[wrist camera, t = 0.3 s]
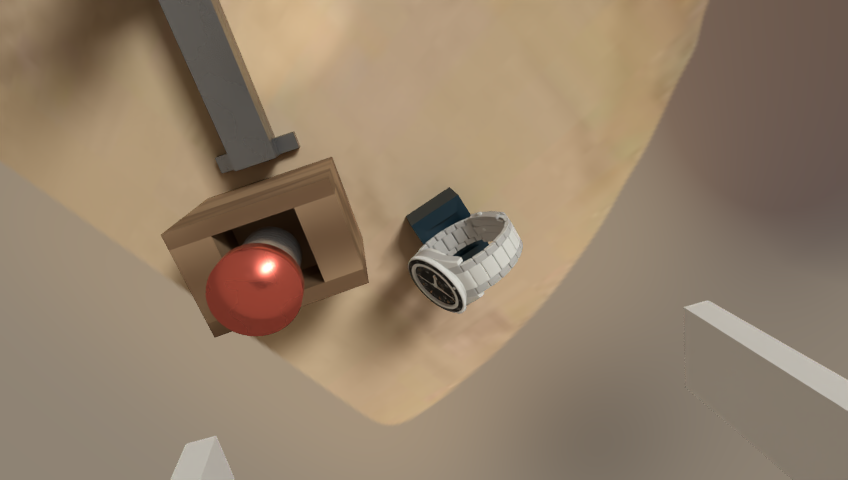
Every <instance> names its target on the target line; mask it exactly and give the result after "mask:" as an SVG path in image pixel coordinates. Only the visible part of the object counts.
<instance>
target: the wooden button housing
mask: <svg viewBox="0 0 848 480" xmlns="http://www.w3.org/2000/svg"><path fill="white" fill-rule="evenodd" d="M264 227H278V228H282V229H284V230H286V231H288V232H290V233H291V234H292V235H293V236H294V237H295V238H296V239H297V240H298V242H299V244H300V246H301V249H302V261H301V265H300V269H301V271H302V274H303V277H304V294H303V299H302V304H301V307H302V306H305V305H308V304H310V303H313V302H316V301H319V300H322V299H324V298H327V297H330V296H333V295H336V294H339V293H341V292H344V291H347V290H350V289H353V288H355V287H358V286H361V285H364V284H367V283H369V281H368V274H367V267H366V260H365V253H364V246H363V239H362V236H361V233H360V230H359V228H358V225H357V222H356V220H355V217H354V214H353V212H352V209H351V206H350V204H349V201H348V198H347V196H346V193H345V190H344V188H343V185H342V182H341V180H340V177H339V174H338V172H337V169H336V166H335V164H334V161H333V158H332V157H330V158H327V159H324V160H321V161H318V162H315V163H312V164H309V165H306V166H303V167H300V168H298V169H295V170H292V171H289V172H286V173H283V174H280V175H277V176H274V177H271V178H268V179H265V180H262V181H259V182H256V183H253V184H250V185H247V186H244V187H241V188H238V189H235V190H232V191H229V192H226V193H223V194H220V195H217V196H214V197H211V198H208V199H207V200H205V201H204V202H203V203H201V204H200V205H199V206H198V207H196V208H195V209H194V210H192V211H191V212H190V213H188V214H187V215H186V216H185V217H183V218H182V219H181V220H179V221H178V222H177V223H176V224H174V225H173V226H172V227H170V228H169V229H168V230H166V231H165V232H164V233H163V234H161V236H162V238H163V240H164V242H165V244H166V246H167V248H168V250H169V252H170V253H171V255H172V257H173V259H174V261H175V263H176V265H177V267H178V269H179V271H180V273H181V274H182V276H183V278H184V280H185V282H186V284H187V286H188V288H189V290H190V292H191V293H192V295H193V297H194V299H195V301H196V303H197V305H198V307H199V309H200V311H201V312H202V314H203V316H204V318H205V320H206V322H207V324H208V326H209V328H210V330H211V331H212V333H213V335H214V337H217V336H220V335H223V334H226V333H229V332H231V330H229V329H228V328H226V327H225V326H223V325H222V324H221V323H220V322H219V321H218V320H217V319H216V318H215V317H214V316H213V314H212V313H211V311H210V309H209V307H208V304H207V300H206V284H207V280H208V277H209V275H210V273H211V271H212V270H213V269H214V267H215V266H216V265H217V263H218V262H219V261H220V259H221V258H222V257H223V256H224V255H225V254H226V253H228V252H229V251H230V250H232V249H234V248H236V247H238V246H241V245H242V244H243V243H244V241H245V240H246V239H247V237H248V236H249V235H250V234H251V233H253V232H254V231H256V230H258V229H260V228H264Z"/></svg>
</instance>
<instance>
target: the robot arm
mask: <svg viewBox="0 0 848 480" xmlns="http://www.w3.org/2000/svg"><path fill="white" fill-rule="evenodd" d="M684 351H685V387H686V388H687V389H688V390H689V391H690V392H691V393H693V394H694V395H695V396H696V397H697V398H698V399H699V400H700V401H702V402H703V403H704V404H705V405H706V406H707V407H709V408H710V409H711V410H712V411H713V412H714V413H716V414H717V415H718V416H719V417H720V418H721V419H723V420H724V421H725V422H726V423H727V424H728V425H730V426H731V427H732V428H733V429H734V430H735V431H737V432H738V433H739V434H740V435H741V436H742V437H743V438H745V439H746V440H747V441H748V442H749V443H750V444H752V445H753V446H754V447H755V448H756V449H758V450H759V451H760V452H761V453H762V454H763V455H764V456H765V457H767V458H768V459H769V460H770V461H771V462H772V463H774V464H775V465H776V466H777V467H778V468H779V469H781V470H782V471H783V472H784V473H785V474H786V475H787V476H789V477H790V478H791V479H792V480H848V380H847V379H845V378H843V377H841V376H840V375H838V374H836V373H834V372H833V371H831V370H829V369H827V368H826V367H824V366H822V365H820V364H819V363H817V362H815V361H813V360H812V359H810V358H808V357H806V356H805V355H803V354H801V353H799V352H798V351H796V350H794V349H792V348H791V347H789V346H787V345H785V344H784V343H782V342H780V341H778V340H777V339H775V338H773V337H771V336H770V335H768V334H766V333H764V332H763V331H761V330H759V329H757V328H756V327H754V326H752V325H750V324H749V323H747V322H745V321H743V320H741V319H740V318H738V317H736V316H735V315H733V314H731V313H729V312H728V311H726V310H724V309H722V308H721V307H719V306H717V305H715V304H714V303H712V302H710V301H704V302H700V303H697V304H693V305H690V306H686V307H684ZM171 480H235V479H234V476H233V474H232V472H231V469H230V467H229V465H228V462H227V460H226V457H225V455H224V453H223V450H222V448H221V446H220V444H219V441H218V439H217V436H213V437H210V438H206V439H202V440H198V441H195V442H191V443H187V444H186V445H185V447H184V450H183V452H182V454H181V456H180V459H179V461H178V464H177V466H176V468H175V470H174V472H173V475H172V477H171Z"/></svg>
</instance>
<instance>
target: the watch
mask: <svg viewBox="0 0 848 480" xmlns="http://www.w3.org/2000/svg"><path fill="white" fill-rule="evenodd" d="M406 217H407V219H408V221H409V223H410V225H411V227H412V228H413V230H414V231H415V233H416V234H417V236H418V237H419V239H420V240H421V242H422V243H423V246H422V247H421V248H420V249H419V250H418V252H417V253H416V254H415V256H413V257H412V258H411V259H410V260H409V262H408V270H409V273H410V275H411V278H412V279H413V281H414V283H415V284H416V285H417V287H418V288H419V289H420V290H421V292H422V293H423V294H424V295H425V296H426V297H427V298H429V299H430V300H431V301H432V302H433V303H435V304H436V305H438V306H439V307H441V308H443V309H445V310H447V311H450V312H454V313H458V314H460V313H463V312H464V311H465V310H466V306H467V305H468V304H470V303H472V302H474V301H476V300H477V299H479V298H480V297H482V295H483V294H484V292H483V291H485V290H487V289H488V288H489V287H490V286H493V285H494V284H495V283H497V282H498V281H499V280H500V279H501V277H502V278H503V277H504V276H505V275H506V274H507V273H508V272H509V271H510V270H511V268H513V267H514V265H515V264H516V262H517V261H518V258H519V257H520V255H521V252H522V248H523V243H522V240H521V239H520V237H519V235H518V233H517V232H516V230H515V228H514V226H513V224H512V223H511V221H510V220H509V218H508V217H507V215H506V214H505V213H504V212H495V211H489V212H478V213H475V214H471V215H470V213H469V212H468V210H467V208H466V207H465V205H464V204H463V202H462V200H461V199H460V197H459V195H458V194H457V193H455V192H454V191H453V190H452V189H451V188H450V187H449V188H448V189H446V190H445V191H443V192H442V193H440V194H439V195H437V196H436V197H434V198H433V199H431V200H430V201H428V202H427V203H425V204H424V205H422V206H421V207H419V208H418V209H416V210H415V211H413V212H412V213H410V214H409V215H407V216H406ZM488 241H493V242H492V243H491V244H488ZM482 266H483V267H482ZM484 269H485V270H484ZM486 272H487V273H486ZM488 275H489V276H488ZM487 281H488V282H487ZM488 283H489V284H488Z"/></svg>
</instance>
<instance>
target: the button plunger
mask: <svg viewBox="0 0 848 480" xmlns="http://www.w3.org/2000/svg"><path fill="white" fill-rule="evenodd" d="M301 261H302V249H301V246H300V244H299V242H298V240H297V239H296V238H295V237H294V236H293V235H292V234H291V233H290V232H288V231H286V230H284V229H282V228H278V227H264V228H260V229H258V230H256V231H254V232H253V233H251V234H250V235H249V236H248V237H247V239H246V240H245V241H244V243H243V244H242V245H241V246H238V247H236V248H234V249H232V250H230V251H229V252H228V253H226V254H225V255H224V256H223V257H222V258H221V259H220V261H219V262H218V263H217V265H216V266H215V267H214V269H213V270H212V271H211V273H210V275H209V277H208V280H207V284H206V300H207V304H208V307H209V309H210V311H211V313H212V314H213V316H214V317H215V318H216V319H217V320H218V321H219V322H220V323H221V324H222V325H223V326H225V327H226V328H228V329H229V330H231V331H233V332H236V333H239V334H242V335H247V336H264V335H269V334H272V333H275V332H277V331H279V330H281V329H283V328H285V327H286V326H287V325H288V324H290V323H291V322H292V321H293V319H294V318H295V317H296V315H297V314H298V312H299V310H300V307H301V304H302V299H303V294H304V277H303V274H302V271H301V269H300V265H301Z"/></svg>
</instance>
